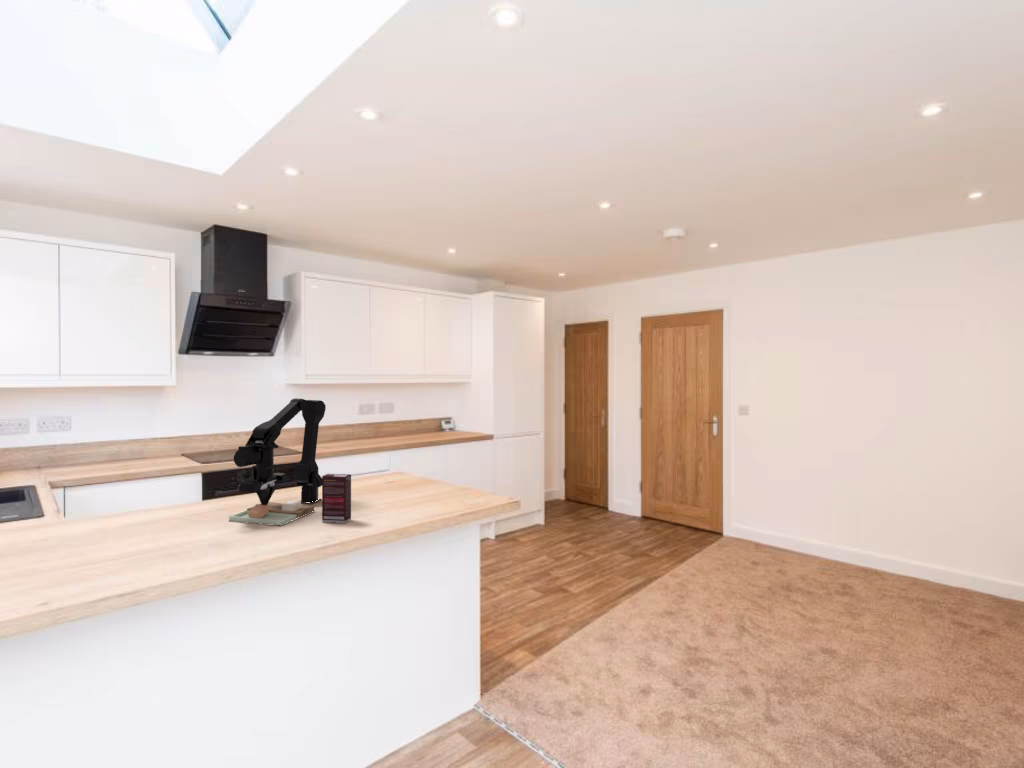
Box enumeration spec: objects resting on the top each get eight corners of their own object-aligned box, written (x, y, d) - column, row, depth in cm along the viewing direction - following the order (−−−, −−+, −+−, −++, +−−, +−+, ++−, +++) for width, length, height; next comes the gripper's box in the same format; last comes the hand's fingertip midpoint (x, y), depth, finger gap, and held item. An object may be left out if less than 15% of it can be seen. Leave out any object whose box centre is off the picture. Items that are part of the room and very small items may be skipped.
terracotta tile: (258, 510, 181) (257, 504, 180) (269, 511, 180) (267, 505, 179) (249, 517, 177) (247, 511, 176) (259, 519, 176) (257, 512, 175)
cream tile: (290, 507, 185) (290, 500, 185) (301, 508, 184) (301, 501, 184) (281, 510, 181) (281, 503, 181) (293, 511, 180) (293, 504, 180)
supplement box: (351, 519, 178) (352, 473, 178) (345, 523, 174) (346, 476, 173) (327, 518, 179) (328, 473, 179) (321, 522, 174) (321, 475, 174)
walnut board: (266, 507, 192) (266, 501, 192) (314, 511, 187) (314, 506, 187) (247, 514, 182) (247, 508, 182) (296, 519, 178) (296, 513, 178)
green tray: (246, 514, 182) (246, 510, 182) (296, 519, 177) (296, 514, 177) (229, 521, 174) (229, 516, 174) (280, 526, 170) (280, 521, 170)
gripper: (263, 456, 191) (262, 498, 191) (224, 465, 173) (224, 511, 173) (289, 458, 189) (289, 500, 189) (253, 467, 170) (252, 514, 171)
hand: (264, 506), depth 181 cm, fingers closed
